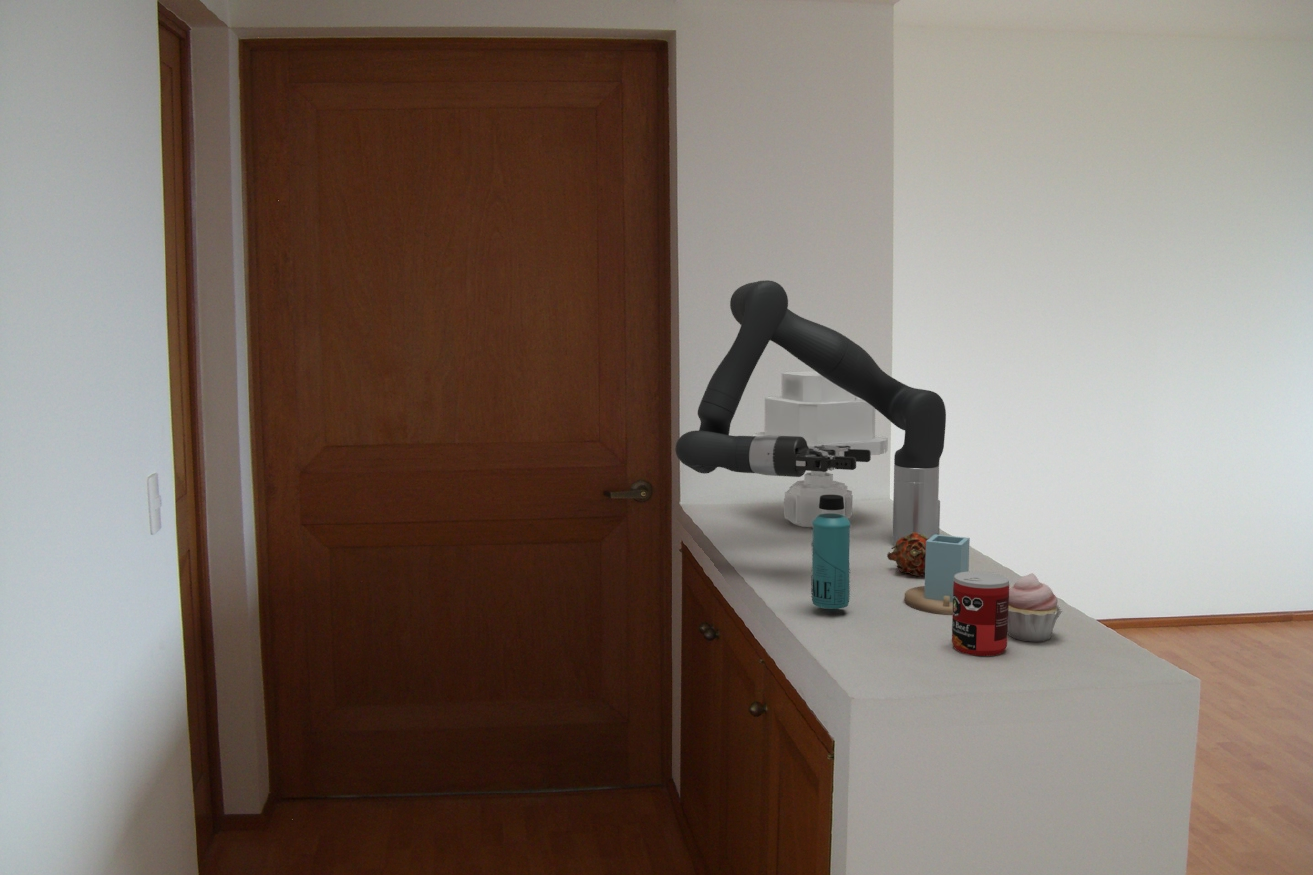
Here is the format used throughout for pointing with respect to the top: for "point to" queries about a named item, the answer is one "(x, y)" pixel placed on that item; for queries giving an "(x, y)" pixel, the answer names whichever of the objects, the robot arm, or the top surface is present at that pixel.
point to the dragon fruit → (910, 554)
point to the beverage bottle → (830, 556)
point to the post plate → (927, 602)
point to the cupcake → (1032, 610)
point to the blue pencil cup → (944, 564)
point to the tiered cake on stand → (819, 436)
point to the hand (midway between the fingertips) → (863, 459)
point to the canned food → (980, 613)
